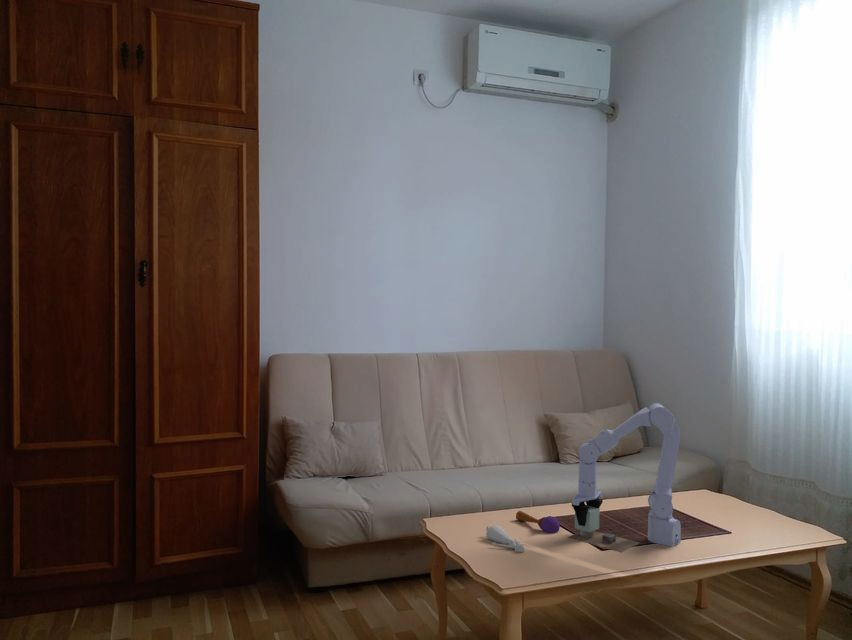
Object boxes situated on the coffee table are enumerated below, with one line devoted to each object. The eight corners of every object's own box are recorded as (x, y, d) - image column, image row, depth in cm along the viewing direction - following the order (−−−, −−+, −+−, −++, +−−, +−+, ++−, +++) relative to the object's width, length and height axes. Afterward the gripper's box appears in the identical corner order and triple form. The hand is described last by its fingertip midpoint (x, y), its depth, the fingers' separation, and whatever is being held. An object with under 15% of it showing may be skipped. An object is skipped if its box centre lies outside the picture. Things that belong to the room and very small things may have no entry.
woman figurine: (504, 520, 231) (538, 540, 216) (504, 533, 232) (537, 554, 216) (475, 525, 226) (507, 546, 210) (474, 538, 226) (506, 560, 210)
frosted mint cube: (599, 528, 226) (599, 508, 226) (589, 532, 222) (590, 512, 222) (584, 524, 230) (584, 504, 230) (574, 528, 226) (575, 508, 226)
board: (640, 546, 220) (640, 527, 219) (621, 556, 211) (621, 535, 211) (587, 532, 233) (587, 513, 233) (567, 540, 224) (567, 521, 224)
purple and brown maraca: (527, 507, 248) (564, 518, 230) (525, 524, 247) (562, 537, 229) (513, 506, 245) (550, 517, 227) (511, 524, 244) (547, 536, 227)
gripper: (588, 475, 234) (588, 515, 234) (564, 482, 223) (563, 525, 224) (607, 479, 229) (607, 520, 229) (583, 487, 218) (583, 530, 219)
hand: (586, 523), depth 226 cm, fingers closed on frosted mint cube, 6 cm apart
